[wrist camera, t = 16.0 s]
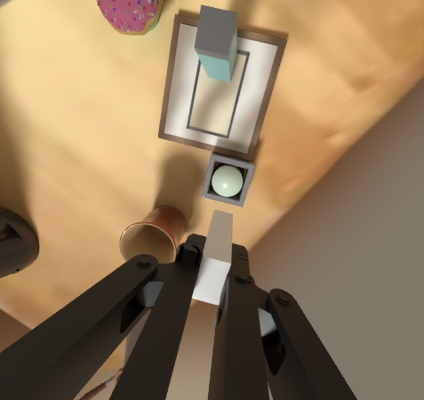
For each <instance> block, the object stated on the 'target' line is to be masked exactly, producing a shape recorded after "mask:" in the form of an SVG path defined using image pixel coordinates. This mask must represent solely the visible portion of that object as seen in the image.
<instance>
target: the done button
mask: <svg viewBox="0 0 424 400" xmlns="http://www.w3.org/2000/svg"><path fill="white" fill-rule="evenodd" d="M242 184H243V179H242V174H241V171H240V169H239V168H238V167H237V166H234V165H230V164H223V165H221V166H219V167H218V168H217V170H216V171H215V173H214V175H213V178H212V186H213V188H214V190H215V191H216V192H217V193H218V194H219V195H221V196H225V197H230V196H233V195H235V194H237V193H238V192H239V191H240V189H241V187H242Z"/></svg>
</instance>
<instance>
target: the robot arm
mask: <svg viewBox="0 0 424 400" xmlns="http://www.w3.org/2000/svg"><path fill="white" fill-rule="evenodd" d="M232 223H233V214H230V213H226V212H223V211H219V210H214V213H213V217H212V221H211V224H210V228H209V232H208V235H207V237H205V236H201V235H197V234H194V233H193V234H191V235H189V236H188V238H187V240H186V242H185V243H182V244H180V245H179V246H178V247H177V252H176V257H175V261H174V262H172V263H166V264H162V263H158V260H157V259H156V258H155V257H154V256H152V255H149V254H140V255H136V256H134V257H132V258H131V259H130V260H128V261H127V262H126V263H124V264H123V265H121V266H120V267H119V268H117V269H116V270H114V271H113V272H112V273H110V274H109V275H107V276H106V277H105V278H103V279H102V280H101V281H99V282H98V283H96V284H95V285H94V286H92V287H91V288H89V289H88V290H87V291H85V292H84V293H83V294H81V295H80V296H78V297H77V298H76V299H74V300H73V301H71V302H70V303H69V304H67V305H66V306H65V307H63V308H62V309H60V310H59V311H58V312H56V313H55V314H53V315H52V316H51V317H49V318H48V319H47V320H45V321H44V322H42V323H41V324H40V325H38V326H37V327H35V328H34V329H33V330H31V331H30V332H28V333H27V334H26V335H24V336H23V337H22V338H20V339H19V340H17V341H16V342H15V343H13V344H12V345H10V346H9V347H8V348H6V349H5V350H4V351H2V352H1V353H0V400H73V399H74V398H75V397H76V395H77V394H78V393H79V392H80V391H81V389H82V388H83V387H84V386H85V385H86V384H87V382H88V381H89V380H90V379H91V378H92V376H93V375H94V374H95V373H96V372H97V370H98V369H99V368H100V367H101V366H102V365H103V363H104V362H105V361H106V360H107V359H108V357H109V356H110V355H111V354H112V353H113V351H114V350H115V349H116V348H117V347H118V346H119V344H120V343H121V342H122V341H123V340H124V338H125V337H126V336H127V335H128V334H129V333H130V331H131V330H132V329H133V328H134V327H135V325H136V324H137V323H138V322H139V321H140V319H141V318H142V317H143V316H144V315H145V314H146V312H147V311H148V310H149V308H150V307H151V306H153V308H152V310H151V312H150V314H149V316H148V318H147V320H146V322H145V325H144V327H143V329H142V331H141V333H140V335H139V337H138V339H137V341H136V344H135V346H134V348H133V350H132V352H131V354H130V356H129V358H128V361H127V363H126V365H125V367H124V369H123V371H122V373H121V375H120V377H119V380H118V382H117V384H116V386H115V388H114V390H113V392H112V395H111V396H110V399H109V400H165V399H166V396H167V392H168V388H169V384H170V380H171V376H172V373H173V369H174V365H175V361H176V357H177V353H178V350H179V345H180V342H181V338H182V334H183V330H184V326H185V323H186V318H187V315H188V311H189V307H190V303H191V300H192V298H194V299H197V300H201V301H205V302H209V303H212V304H216V305H218V304H219V301H220V305H219V309H218V312H217V315H216V318H215V321H214V325H216V327H215V337H214V346H213V356H212V365H211V374H210V383H209V393H208V400H269V392H268V385H269V388H270V391H271V394H272V397H273V400H357V398H356V397H355V395H354V394H353V392H352V390H351V389H350V387H349V386H348V384H347V382H346V381H345V379H344V377H343V376H342V375H341V373H340V371H339V370H338V368H337V366H336V365H335V363H334V361H333V360H332V358H331V356H330V355H329V353H328V352H327V350H326V348H325V347H324V345H323V344H322V342H321V340H320V339H319V337H318V335H317V334H316V332H315V331H314V329H313V327H312V326H311V324H310V323H309V321H308V320H307V318H306V316H305V314H304V313H303V311H302V310H301V308H300V306H299V305H298V303H297V301H296V300H295V299H294V298H293V296H292V295H290V294H289V293H288V292H286V291H284V290H281V289H272V290H271V291H270V293H268V292H266V291H264V290H262V289H261V288H259V287H257V286H256V285H255V282H254V279H253V277H252V276H251V275H250V271H249V261H248V251H247V250H246V248H245V247H244V246H241V245H237V244H234V243H232ZM37 256H38V242H37V239H36V236H35V234H34V233H33V231H32V229H31V228H30V227H29V225H28V224H27V223H26V222H25V221H24V220H23V219H22V218H21V217H19V216H18V215H16V214H15V213H13V212H11V211H9V210H7V209H4V208H0V278H2V277H5V276H8V275H10V274H14V273H17V272H19V271H21V270H23V269H25V268H26V267H28V266H29V265H31V264H32V263H33V262H34V261H35V260H36V258H37ZM267 382H268V384H267Z"/></svg>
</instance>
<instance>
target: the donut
mask: <svg viewBox="0 0 424 400" xmlns="http://www.w3.org/2000/svg"><path fill="white" fill-rule="evenodd" d="M97 2H98V5H99V8H100V10H101V12H102V13H103V15H104V17H105V18H106V19H107V20H108V22H109V23H110V24H111V26H112V27H113V28H114V29H115V30H116V31H118V32H120V33H122V34H126V35H145V34H146V33H147V32H148V31H150V30H152V29H153V28H154V27H155V26H156V25H157V23H158V20H159V16H160V13H161V11H162V7H163V0H97Z"/></svg>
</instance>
